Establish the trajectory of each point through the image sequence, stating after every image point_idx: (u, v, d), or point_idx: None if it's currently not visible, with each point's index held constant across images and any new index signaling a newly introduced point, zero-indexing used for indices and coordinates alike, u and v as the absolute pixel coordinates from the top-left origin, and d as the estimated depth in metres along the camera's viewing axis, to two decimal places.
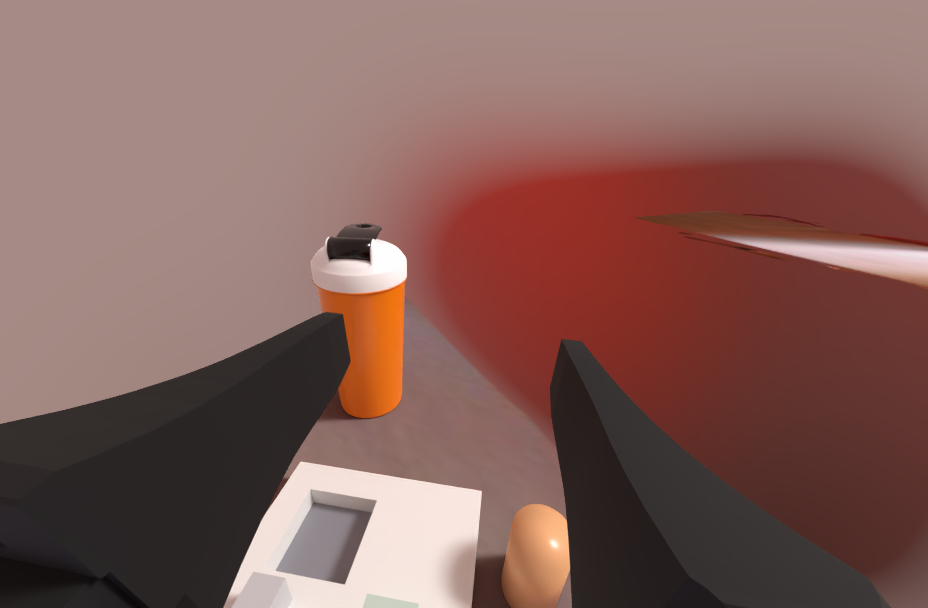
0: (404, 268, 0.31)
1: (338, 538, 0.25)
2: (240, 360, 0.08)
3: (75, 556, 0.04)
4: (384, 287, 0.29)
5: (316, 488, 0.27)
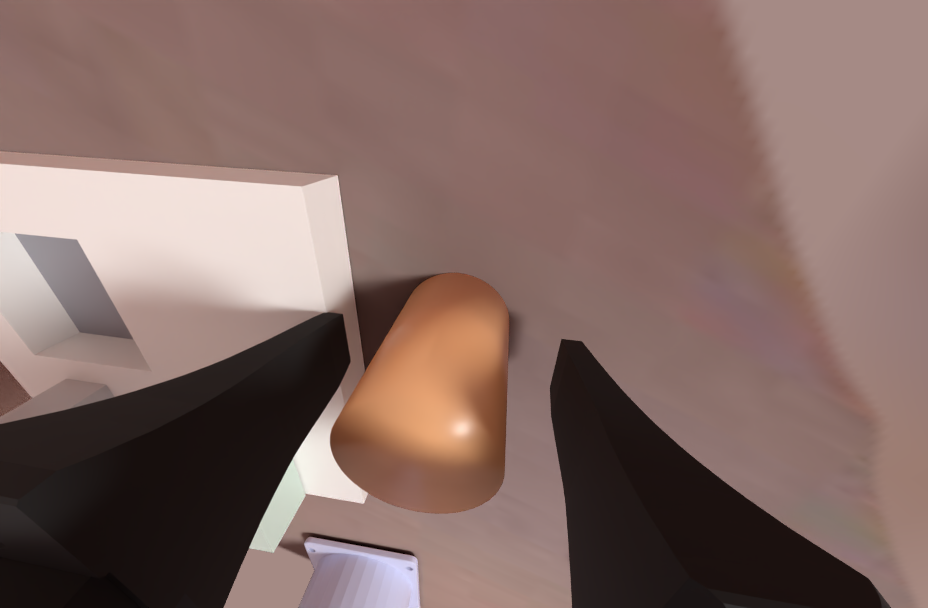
0: None
1: None
2: (240, 360, 0.08)
3: (75, 556, 0.04)
4: None
5: None
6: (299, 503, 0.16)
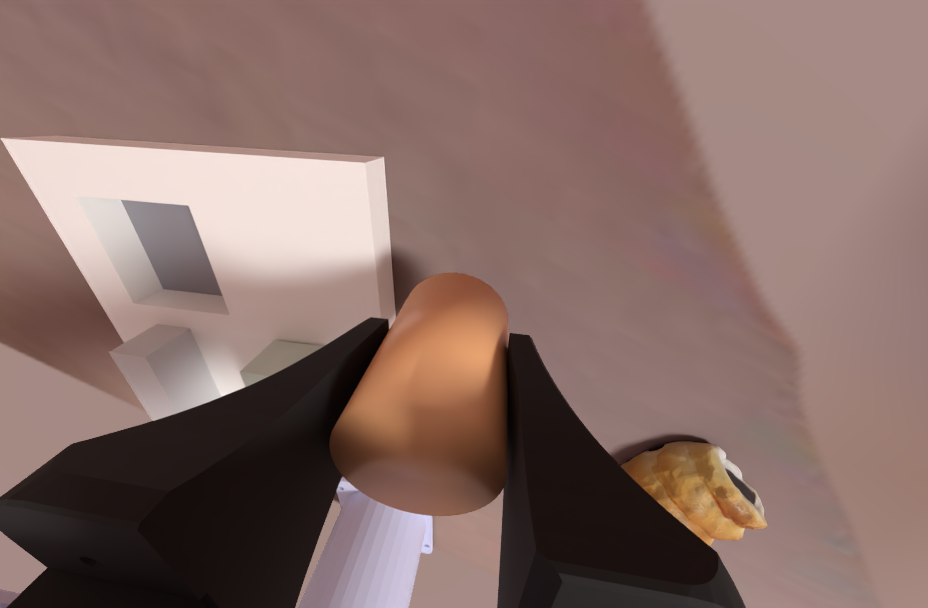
0: None
1: (194, 239, 0.17)
2: (302, 369, 0.07)
3: (181, 578, 0.04)
4: None
5: (82, 193, 0.15)
6: None
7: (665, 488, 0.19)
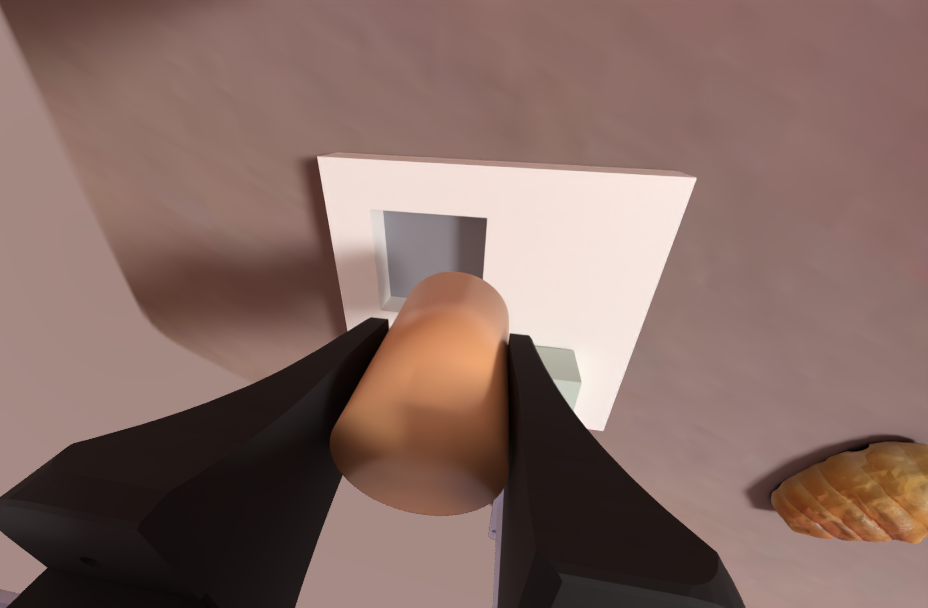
0: None
1: (445, 248, 0.18)
2: (302, 369, 0.07)
3: (181, 578, 0.04)
4: None
5: (378, 207, 0.15)
6: None
7: (883, 486, 0.19)
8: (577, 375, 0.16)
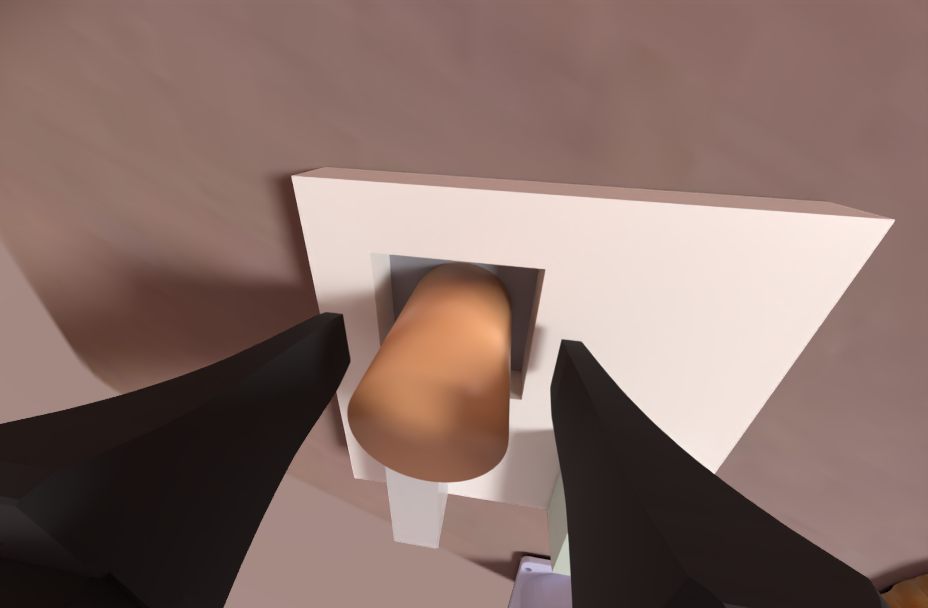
0: None
1: None
2: (240, 360, 0.08)
3: (75, 556, 0.04)
4: None
5: (382, 249, 0.10)
6: None
7: None
8: None
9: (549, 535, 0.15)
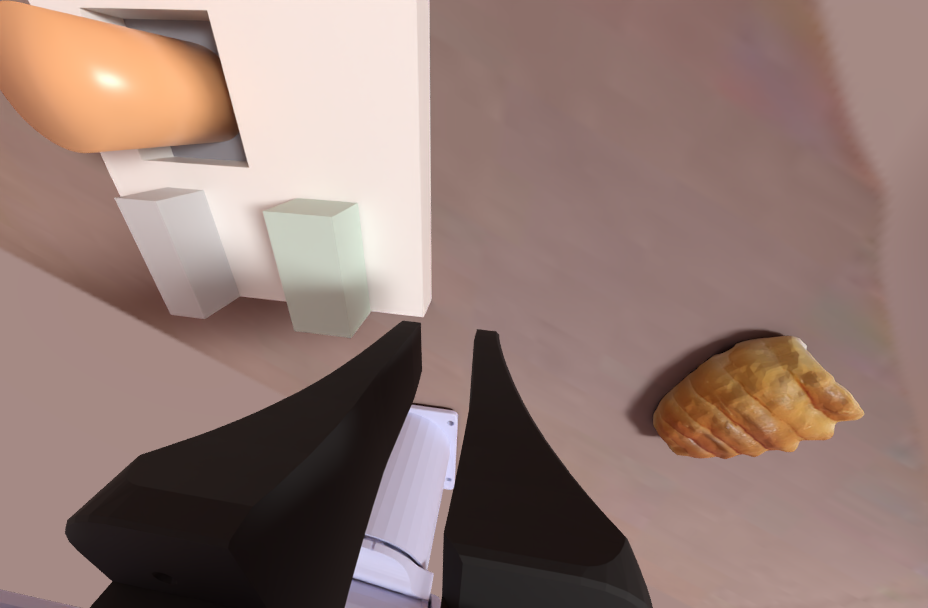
0: None
1: None
2: (347, 374, 0.07)
3: (259, 594, 0.04)
4: None
5: (86, 3, 0.13)
6: (367, 314, 0.18)
7: (743, 384, 0.17)
8: (334, 213, 0.14)
9: None
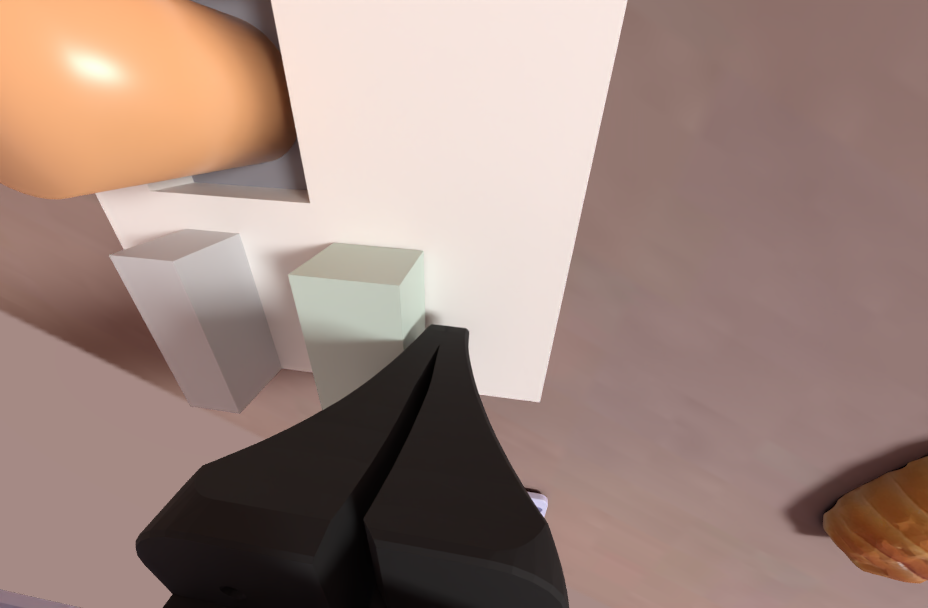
0: None
1: None
2: (387, 380, 0.07)
3: None
4: None
5: None
6: None
7: None
8: (400, 277, 0.09)
9: None
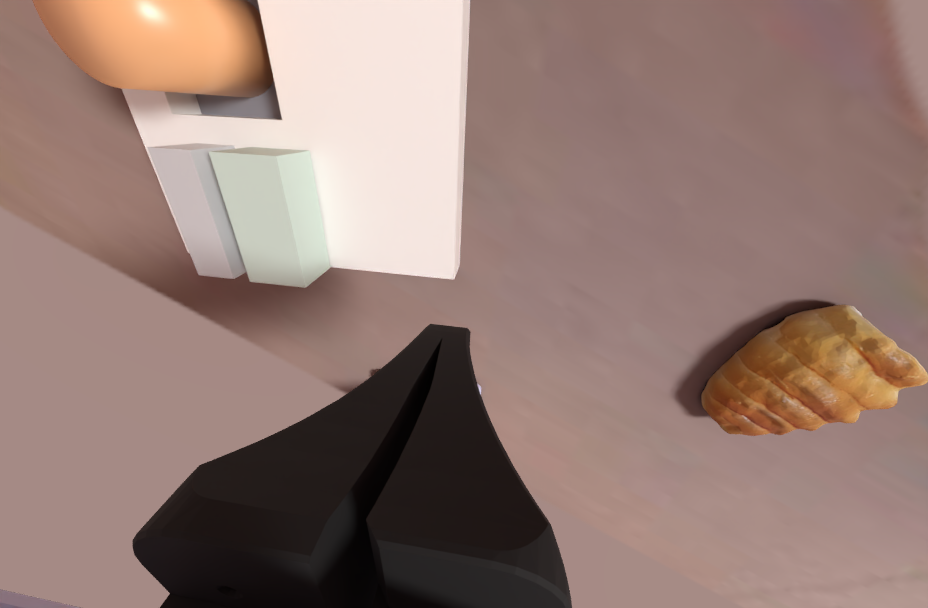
0: None
1: None
2: (385, 380, 0.07)
3: None
4: None
5: None
6: (325, 268, 0.18)
7: (798, 357, 0.17)
8: (280, 154, 0.14)
9: None
